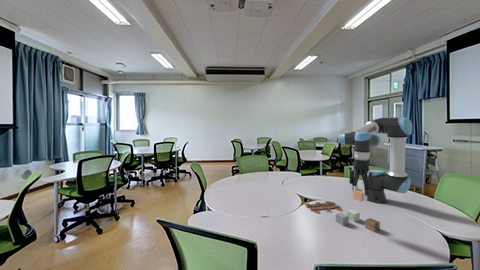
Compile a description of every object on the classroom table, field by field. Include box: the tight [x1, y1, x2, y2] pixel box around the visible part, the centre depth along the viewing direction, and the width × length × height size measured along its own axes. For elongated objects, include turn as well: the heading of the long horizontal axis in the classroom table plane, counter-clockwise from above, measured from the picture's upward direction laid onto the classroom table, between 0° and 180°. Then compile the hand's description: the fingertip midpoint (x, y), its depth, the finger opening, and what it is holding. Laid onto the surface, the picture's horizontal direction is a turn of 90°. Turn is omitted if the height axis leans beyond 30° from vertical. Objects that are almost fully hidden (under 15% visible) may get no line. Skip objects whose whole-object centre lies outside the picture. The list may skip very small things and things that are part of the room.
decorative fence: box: [304, 201, 343, 215], centre depth 141 cm, size 23×2×15 cm
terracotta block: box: [352, 188, 364, 202], centre depth 113 cm, size 5×5×5 cm
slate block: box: [335, 212, 350, 227], centre depth 120 cm, size 5×5×5 cm
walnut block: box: [364, 217, 381, 233], centre depth 113 cm, size 5×5×5 cm
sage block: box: [346, 209, 361, 223], centre depth 124 cm, size 5×5×5 cm
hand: (360, 198), depth 113 cm, fingers closed on terracotta block, 5 cm apart
